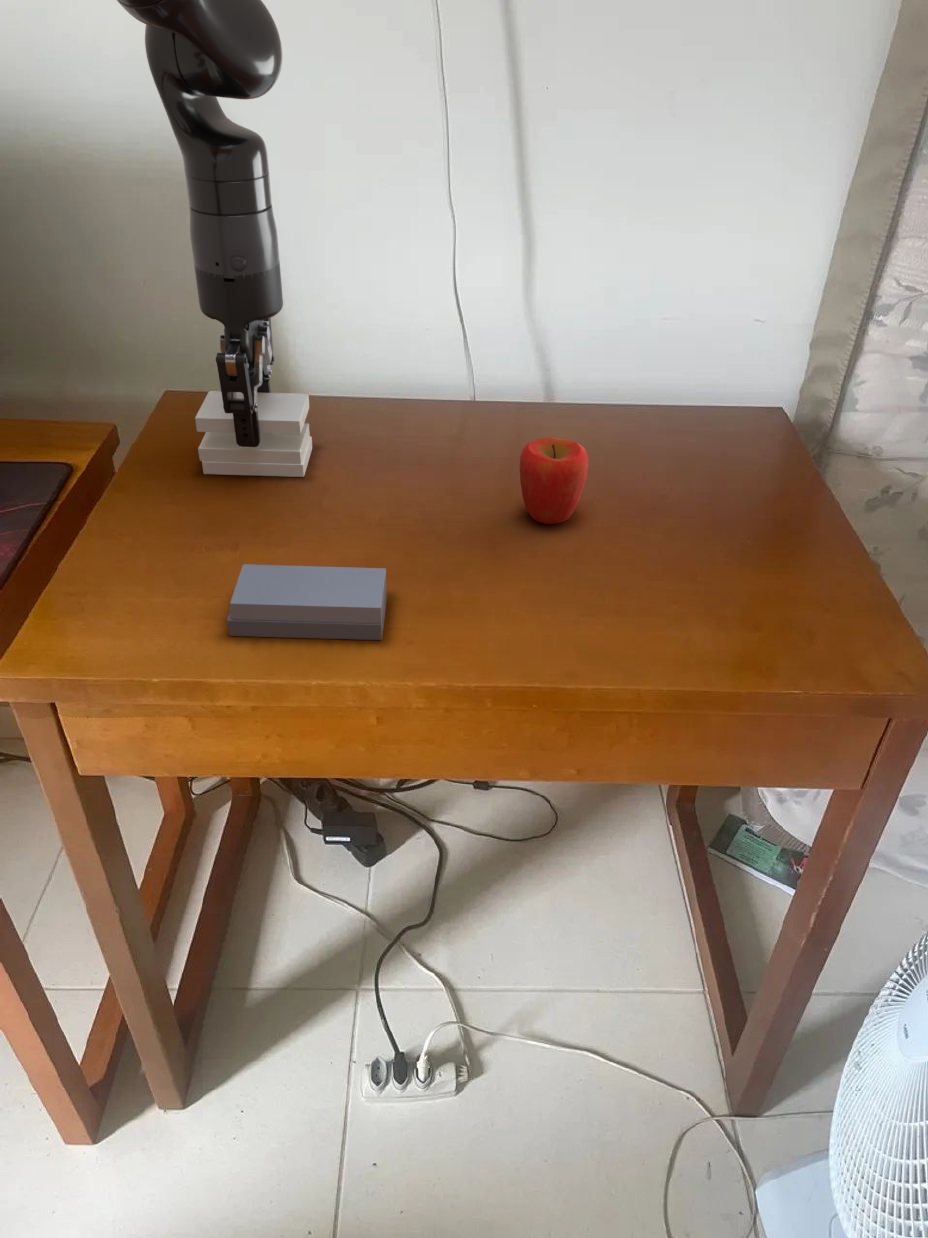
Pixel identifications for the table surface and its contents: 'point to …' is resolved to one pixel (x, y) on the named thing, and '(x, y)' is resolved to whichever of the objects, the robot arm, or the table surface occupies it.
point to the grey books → (309, 602)
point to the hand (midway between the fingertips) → (255, 428)
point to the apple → (552, 478)
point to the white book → (273, 413)
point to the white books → (256, 454)
